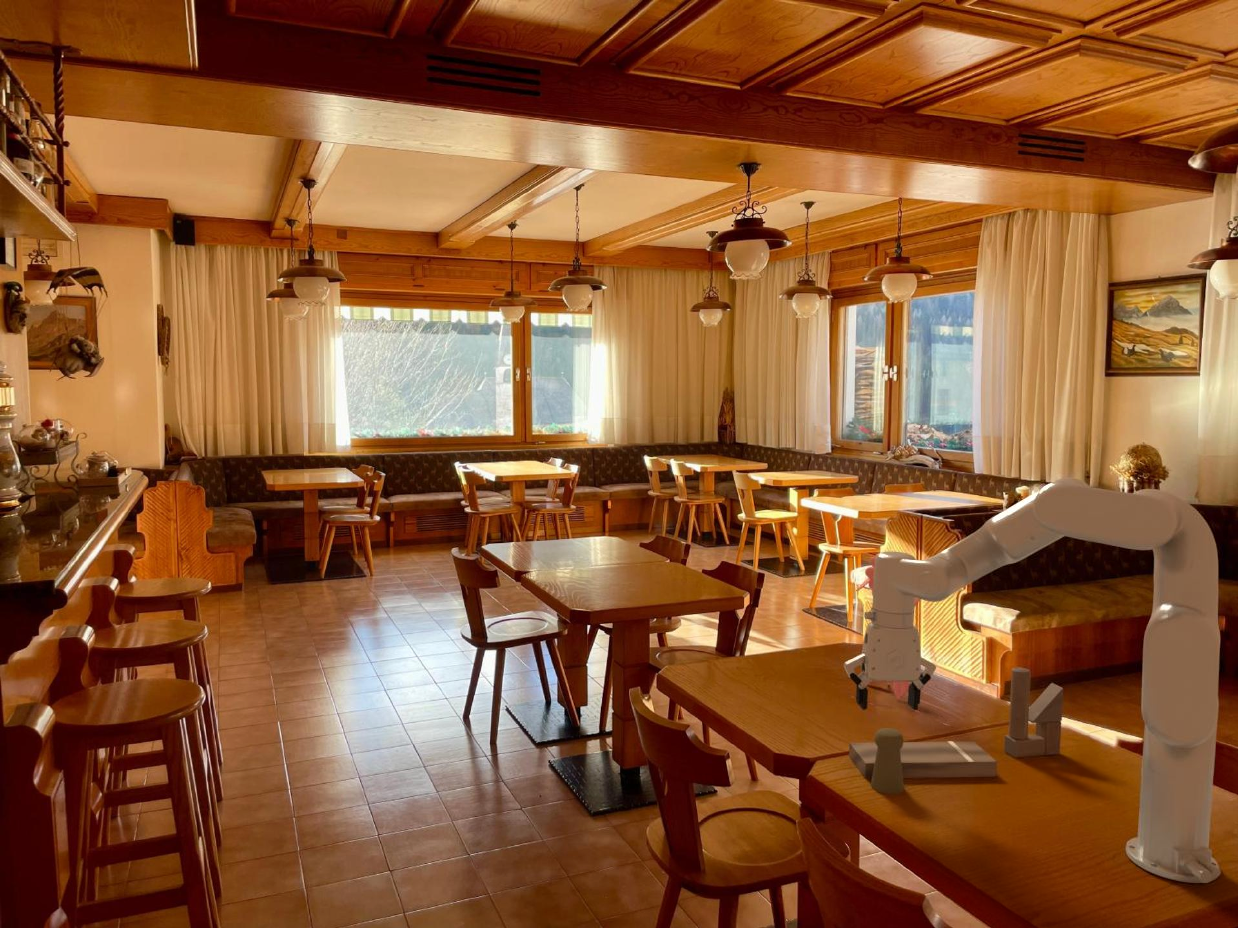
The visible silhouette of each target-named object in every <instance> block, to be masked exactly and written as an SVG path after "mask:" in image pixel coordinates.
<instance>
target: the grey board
mask: <svg viewBox="0 0 1238 928" xmlns="http://www.w3.org/2000/svg"><path fill="white" fill-rule="evenodd" d="M848 746H849V748H848V749H849V750H848V754H849V755H848V758H849V759H850V760H851V762H852V764H854V765H855V767H856V768H857V769H858V771H859V773H860V774H861V775H862V776H863V777H864V778H865V779H872V776H873V770H874V764H875V758H876V753H877V745H876V743H875V742H849V745H848ZM900 755H901V765H902V775H903V779H906V778H907V779H914V778H915V779H916V778H918V779H919V778H920V779H921V778H922V779H925V778H993V777H997V766H998V764H997V763H998V762H997V761H996V759H994V758H993V757H992V756H991V755H989V753H987V752H986V751H985V750H984V749H983V748H982V747H981V746H980V745H978V744H977V743H976V742H975V741H952V740H947V741H909V742H907V741H903V746H902V748H901V749H900Z"/></svg>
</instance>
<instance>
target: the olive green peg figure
mask: <svg viewBox="0 0 1238 928" xmlns="http://www.w3.org/2000/svg"><path fill="white" fill-rule="evenodd" d="M903 742H904V736H903V734H902V733H901V732H900V731H898V730H897V729H894V728H889V727H886V728H885V727H884V728H880V729H878V730H877V731H876V732H875V734H874V743H876V745H877V753H876V758H875V764H874V770H873V776H872V778H871V782H870V787H871V789H873V790H875V792H879V793H882V794H886V795H899V794H901V792H902V793H903V792H904V789H905V786H904V778H903V775H902V765H901V755H900V749H901V748H902V746H903Z"/></svg>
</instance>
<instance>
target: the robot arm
mask: <svg viewBox="0 0 1238 928" xmlns="http://www.w3.org/2000/svg"><path fill="white" fill-rule="evenodd" d="M1063 537H1068V538H1073V539H1078V540H1081V541H1082V540H1083V541H1087V542H1092V543H1098V544H1104V545H1109V546H1114V547H1117V548H1119V547H1120V548H1124V549H1130V550H1135V551H1136V550H1138V551H1149V550H1150V551H1151V550H1152V552H1153V558H1154V559H1153V600H1152V601H1153V602H1152V611H1151V615H1150V618H1149V621H1148V624H1147V625H1146V629H1145V631H1144V637H1143V648H1142V677H1141V704H1140V705H1141V715H1142V719H1143V723H1144V732H1143V733H1144V735H1143V746H1142V760H1141V762H1142V763H1141V776H1140V777H1141V778H1140V793H1139V794H1140V795H1139V811H1138V812H1139V813H1138V814H1139V815H1138V825H1137V826H1138V830H1137V836H1136V837H1133V838H1130V839H1129V840H1127V842H1126V844H1125V852H1126V855H1127V856H1128V858H1129V859H1130V860H1131V861H1132V862H1133V863H1134V864H1135V865H1137V866H1139V867H1140V868H1141V869H1142V870H1145V871H1147V872H1149V873H1151V874H1154V875H1156V876H1159V877H1162V878H1165V879H1169V880H1172V881H1177V882H1181V883H1182V882H1183V883H1188V884H1189V883H1191V884H1192V883H1193V884H1208V883H1210V882H1212V881H1214V880H1216V879H1217V878H1218V877H1219V876H1220V875H1221V873H1222V871H1221V869H1220V865H1219V863H1218V861H1216V859H1215V858H1213V857H1212V854H1213V850H1212V849H1210V848H1209V846H1210V845H1209V844H1210V831H1211V830H1210V829H1211V815H1212V814H1211V812H1212V803H1213V802H1212V799H1213V785H1214V772H1215V760H1216V759H1215V758H1216V743H1217V732H1218V731H1217V729H1218V718H1219V707H1220V705H1219V704H1220V703H1219V678H1220V677H1219V675H1220V673H1219V671H1220V648H1221V632H1220V626H1219V558H1218V548H1217V543H1216V540H1215V537H1214V534H1213V531H1212V530H1211V528H1210V526H1209V524H1208V522H1207V521H1206V520H1205V519H1204V516H1202V515H1201V513H1199V511H1198V510H1197V509H1196V508H1195V507H1194V506H1192V505H1191V504H1189V502H1187V501H1185V500H1183V499H1182V498H1181V497H1179V496H1177V495H1174V494H1173V493H1170V492H1167V491H1166V490H1165V491H1164V490H1162V489H1155V488H1144V489H1140V490H1137V491H1134V492H1124V491H1117V490H1111V489H1105V488H1099V487H1093V486H1090V485H1089V484H1088V483H1087V482H1085V481H1083V480H1081V479H1079V478H1076V477H1067V476H1066V477H1062V478H1059V479H1056V480H1054V481H1051V482H1049V483H1048V484H1045V485H1044V486H1043V487H1041V489H1040V488H1039V490H1037V491H1035V492H1033V493H1031V494H1030V495H1028V496H1027V497H1025V498H1023V499H1022V500H1020V501H1018V502H1016V503H1015V504H1013V505H1012V506H1010V507H1008V508H1006V509H1004V510H1003V511H1001V512H1000V513H998V514H995V515H994V516H992V517H991V518H990V519H988V520H986V522H984V524H983V525H982V526H981V527H980V528H979V529H977V530H976V531H975V532H972V533H971V534H969V535H968V536H966V537H965V538H963V539H961V540H960V541H958V542H956V543H954V544H952V545H951V546H949V547H948V548H946V549H944V550H942V551H941V552H939V553H937V554H935V555H933V556H931V557H929V558H925V559H921V560H919V559H916V557H915V556H913V554H910V553H907V552H901V551H881V552H880V553H878V555H877V556H876V555H875V557H876V558H875V566H874V585H873V595H872V604H871V605H872V607H870V611H865V612H864V614H863V616H864V619H865V620H869V621H870V622H868V623H867V625H866V626H867V627H866V630H865V634H864V638H863V643H862V650H861V654H858V655H857V656H855V657H853V658H851V659H849V660H847V661H845V662H844V663H843V667H844V670H845V672H846V673H847V676H848V678H850V679H851V681H852V682H853V683H854V684H855V685H856V695H855V697H856V698H855V701H856V703H857V705H858V706H859V707H860V708H861V710H862V711H863V710H864V711H866V710H867V709H868V703H867V702H868V698H869V697H868V696H869V695H868V694H869V690H868V689H867V686H868V685H869V684H870V683H871V682H870V681H871V680H874V681H873V682H886V681H888V682H894V681H909V682H911V683H909V691H907V705H908V706H909V707H910V708H911V709H912V710H913V711H918V709H919V705H920V703H921V690H923V689H924V686H925V685H926V684H928V683H929V681H931V679H932V676H933V675H934V673H935V671H936V670H937V665H935V664H934V663H933V662H931V661H929V660H928V659H926V658H924V657H922V656H921V643H920V632H919V629H918V627H917V626H915V625H914V620H915V607H916V606H915V597H916V598H919V599H920V600H921V601H926V602H932V603H937V602H941V601H944V600H946V599H948V598H949V597H950V596H952V595H954V593H956V592H958V591H960V590H961V589H963V588H964V587H966V586H968V585H970V584H971V583H973V582H975V581H977V580H979V579H981V578H982V577H984V576H986V575H987V574H990V573H992V572H993V571H995V570H997V569H999V568H1001V567H1003V566H1006V565H1011V564H1015V563H1018V562H1020V561H1022V560H1024V559H1026V558H1028V557H1029V556H1031V555H1033V554H1034V553H1036V552H1038V551H1040V550H1042V549H1043V548H1046V547H1047V546H1049V545H1051V544H1052V543H1054V542H1057V541H1059V540H1060V539H1062V538H1063ZM859 666H860V670H861V672H860V673H859V674H858V675H857V674H856V671H855V668H856V667H859ZM922 667H924V671H922V672H921V670H922ZM869 682H870V683H869Z"/></svg>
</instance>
